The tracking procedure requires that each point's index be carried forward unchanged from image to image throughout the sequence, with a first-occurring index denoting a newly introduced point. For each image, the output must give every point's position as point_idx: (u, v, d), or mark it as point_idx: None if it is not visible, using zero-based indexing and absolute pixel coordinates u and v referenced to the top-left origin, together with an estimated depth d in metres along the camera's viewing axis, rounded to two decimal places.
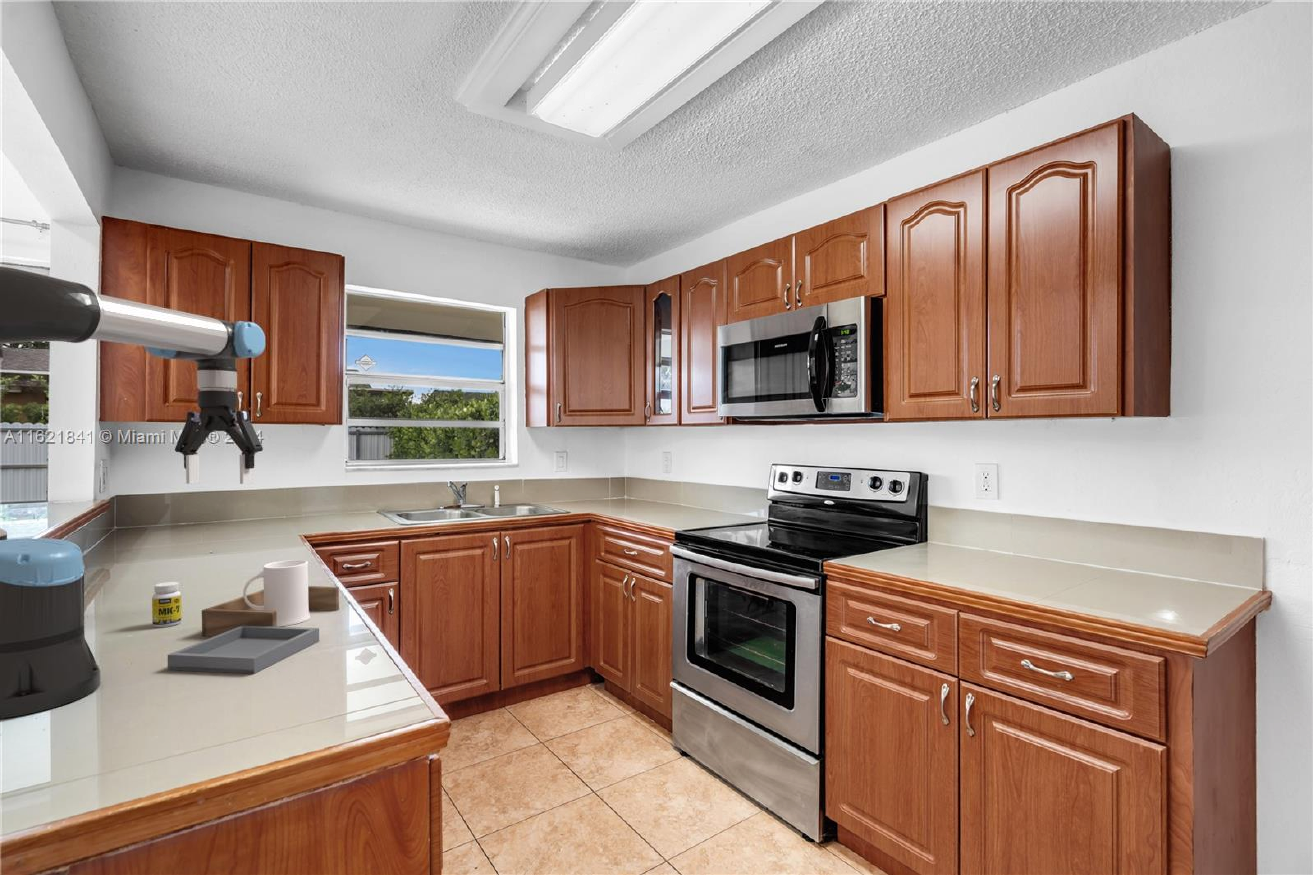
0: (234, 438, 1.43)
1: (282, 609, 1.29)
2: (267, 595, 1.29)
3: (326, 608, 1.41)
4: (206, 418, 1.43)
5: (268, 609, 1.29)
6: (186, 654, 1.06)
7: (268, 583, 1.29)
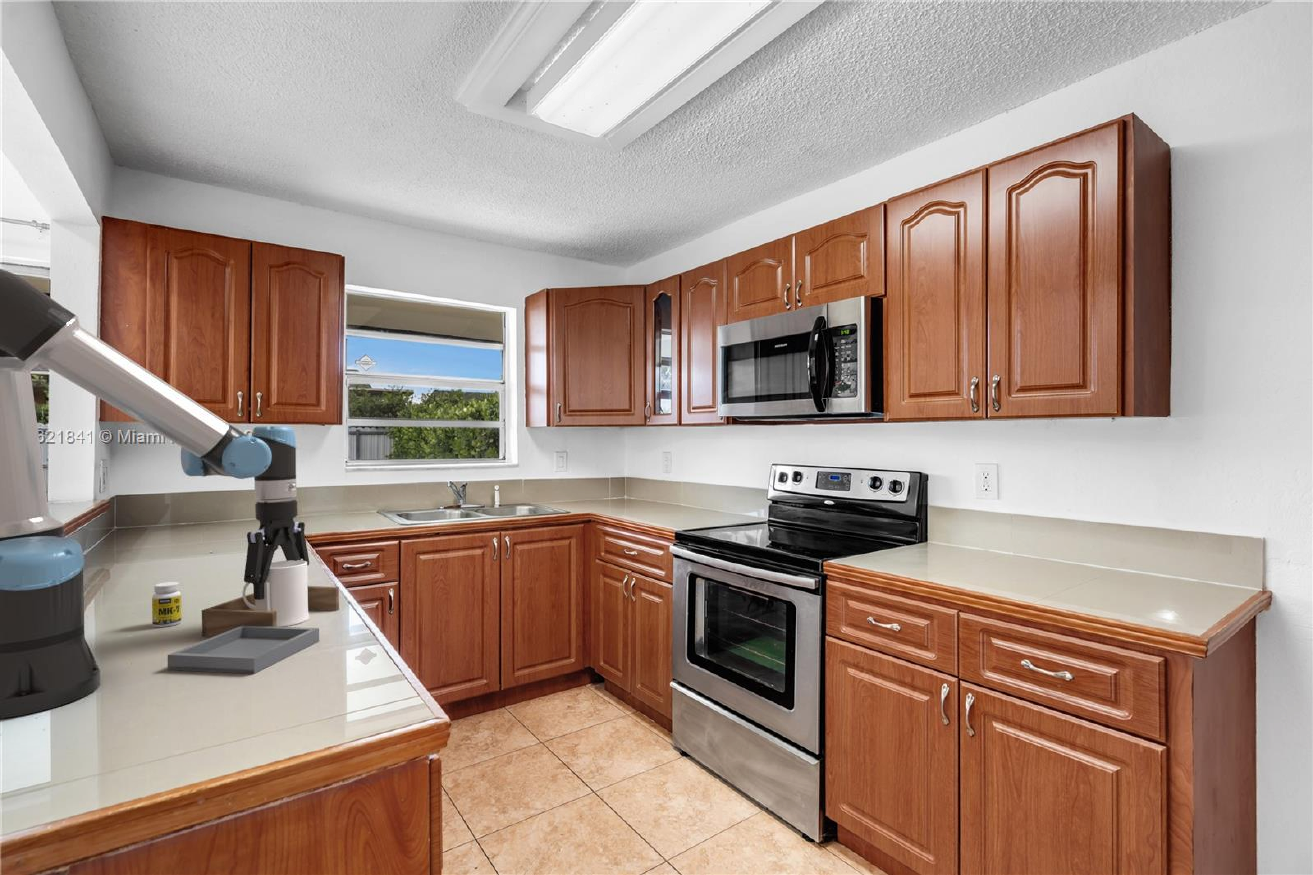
0: None
1: (282, 609, 1.29)
2: None
3: (326, 608, 1.41)
4: None
5: None
6: (186, 654, 1.06)
7: None
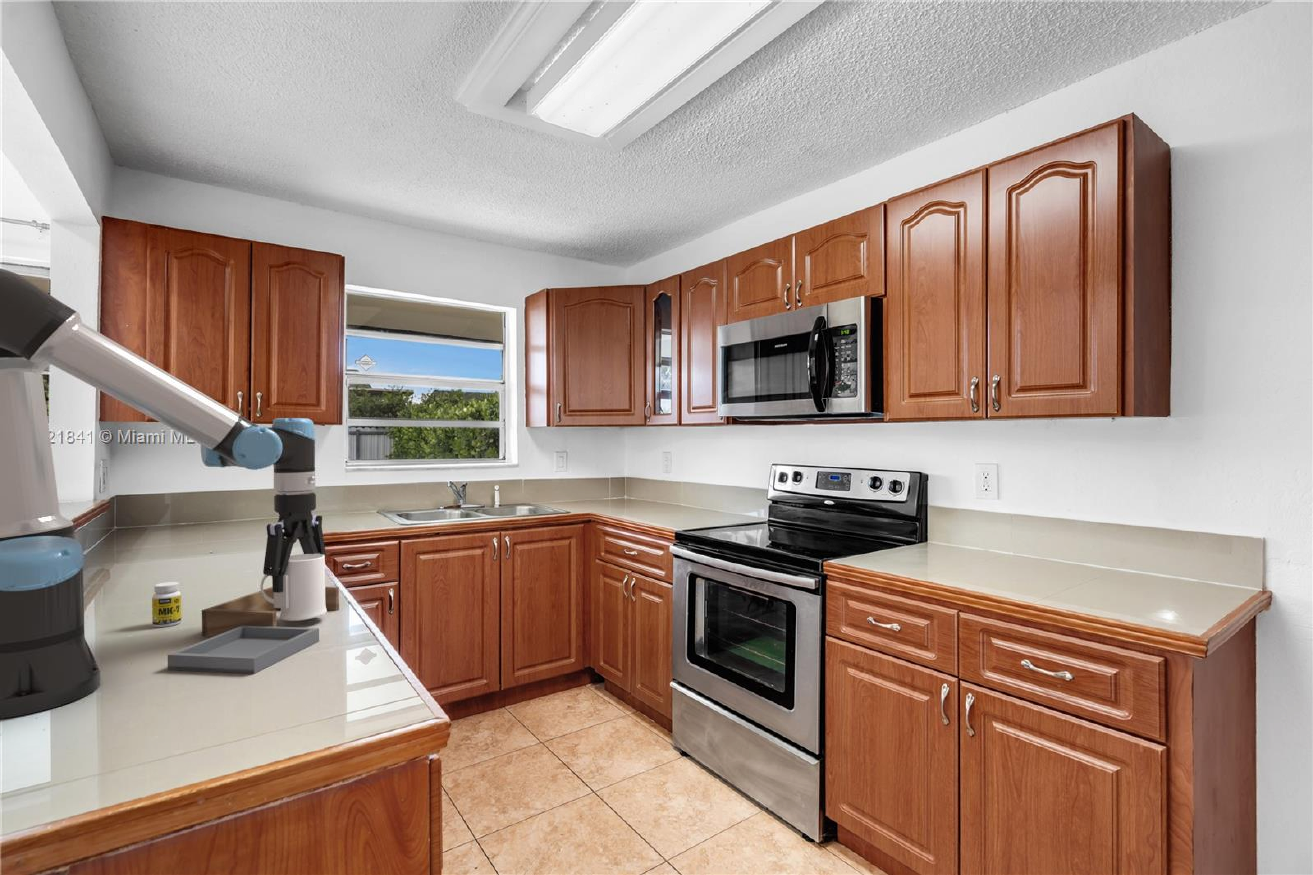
0: None
1: (300, 603, 1.28)
2: None
3: (326, 608, 1.41)
4: None
5: None
6: (186, 654, 1.06)
7: None
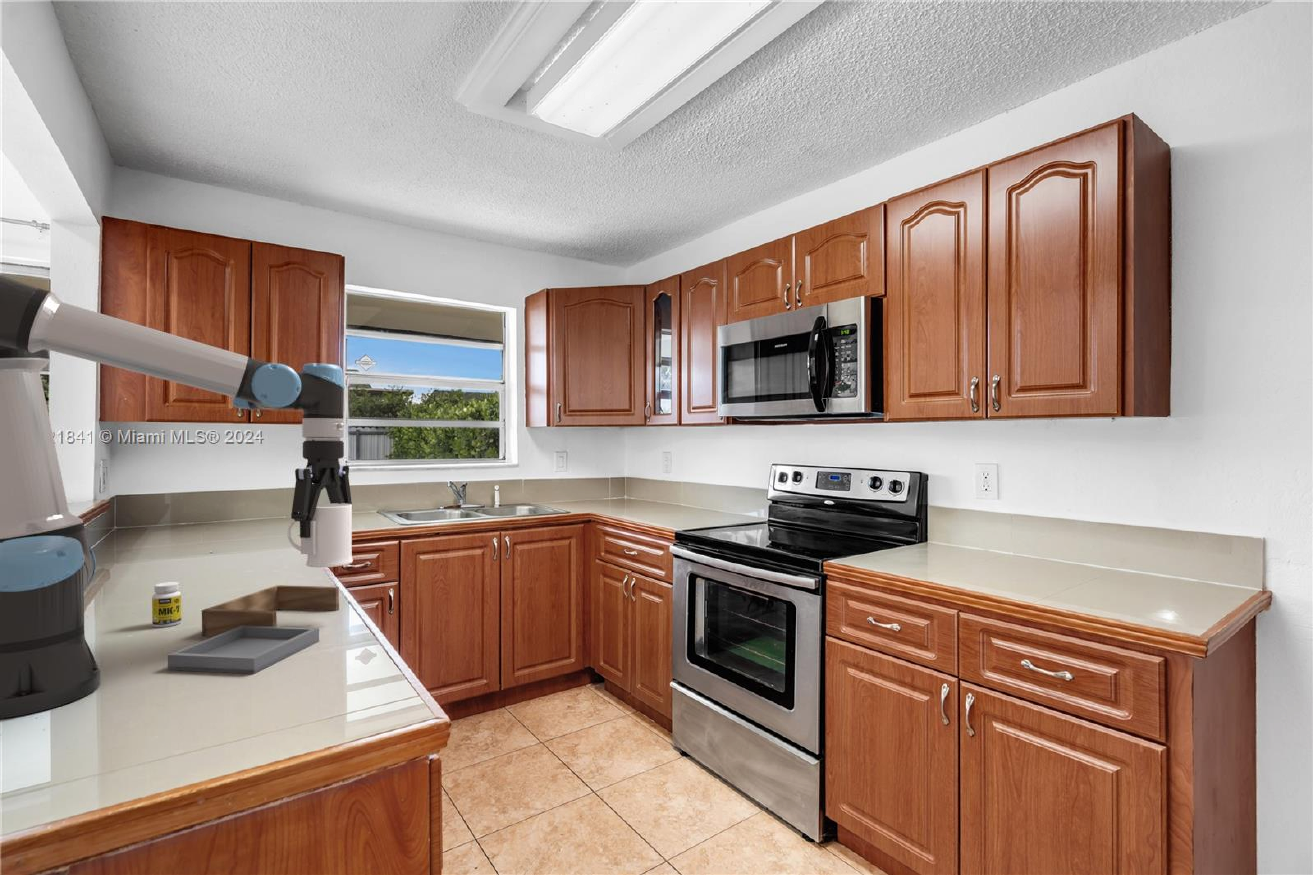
0: None
1: (327, 550, 1.27)
2: None
3: (326, 608, 1.41)
4: None
5: None
6: (186, 654, 1.06)
7: None
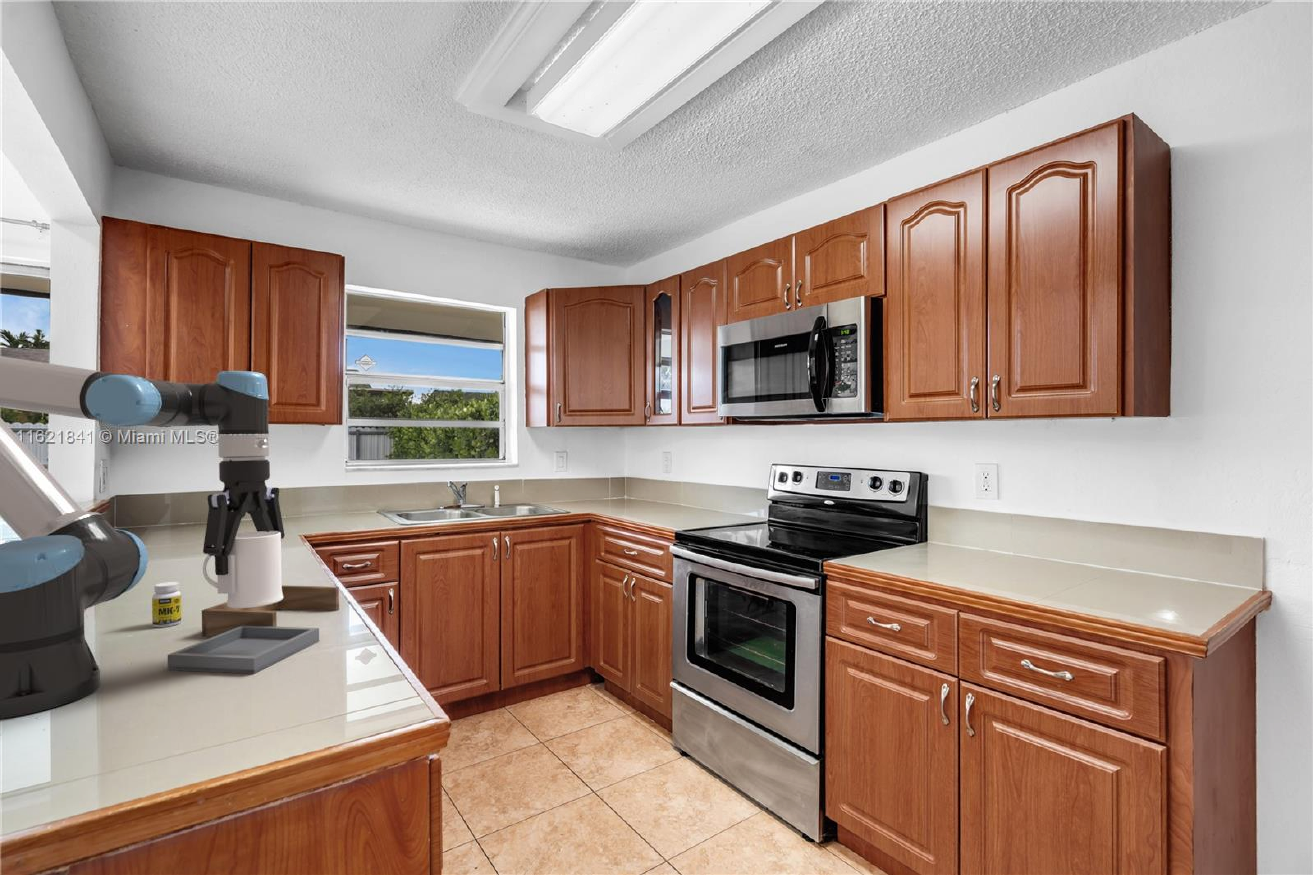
0: None
1: (249, 587, 1.09)
2: None
3: (326, 608, 1.41)
4: None
5: None
6: (186, 654, 1.06)
7: None
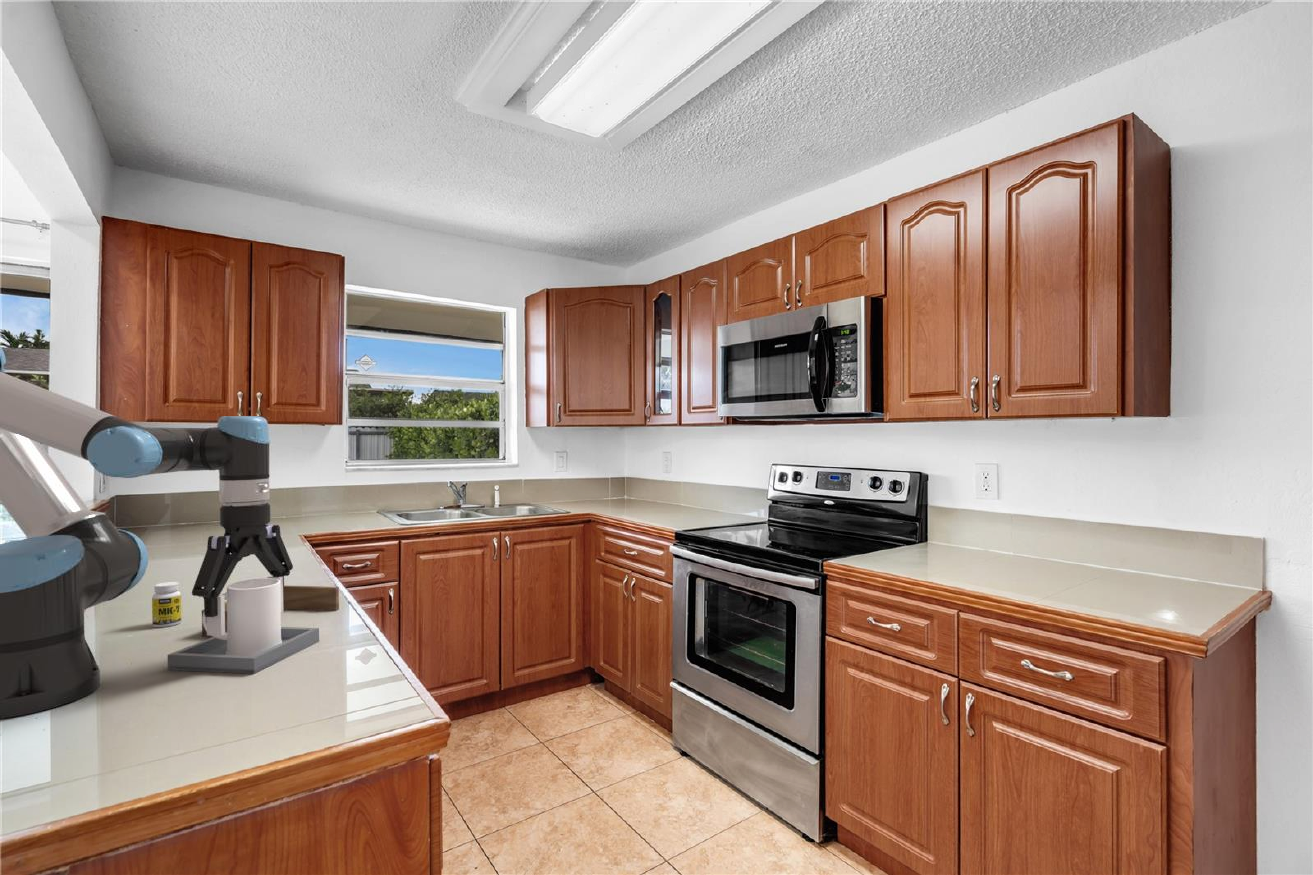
0: None
1: (248, 638, 1.09)
2: (230, 621, 1.09)
3: (326, 608, 1.41)
4: None
5: (231, 638, 1.09)
6: (186, 654, 1.06)
7: (231, 607, 1.09)
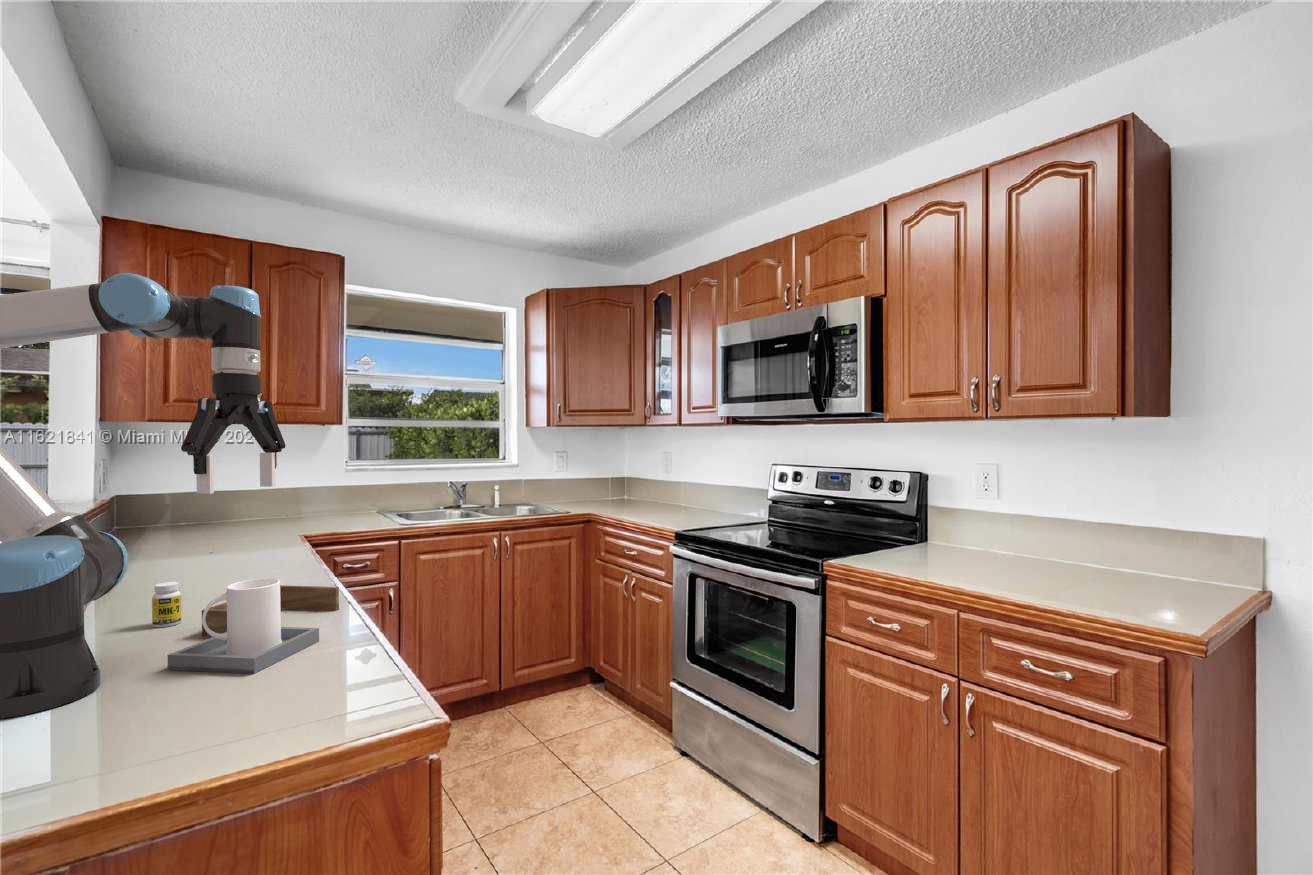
0: None
1: (248, 638, 1.09)
2: (230, 621, 1.09)
3: (326, 608, 1.41)
4: None
5: (231, 638, 1.09)
6: (186, 654, 1.06)
7: (231, 607, 1.09)
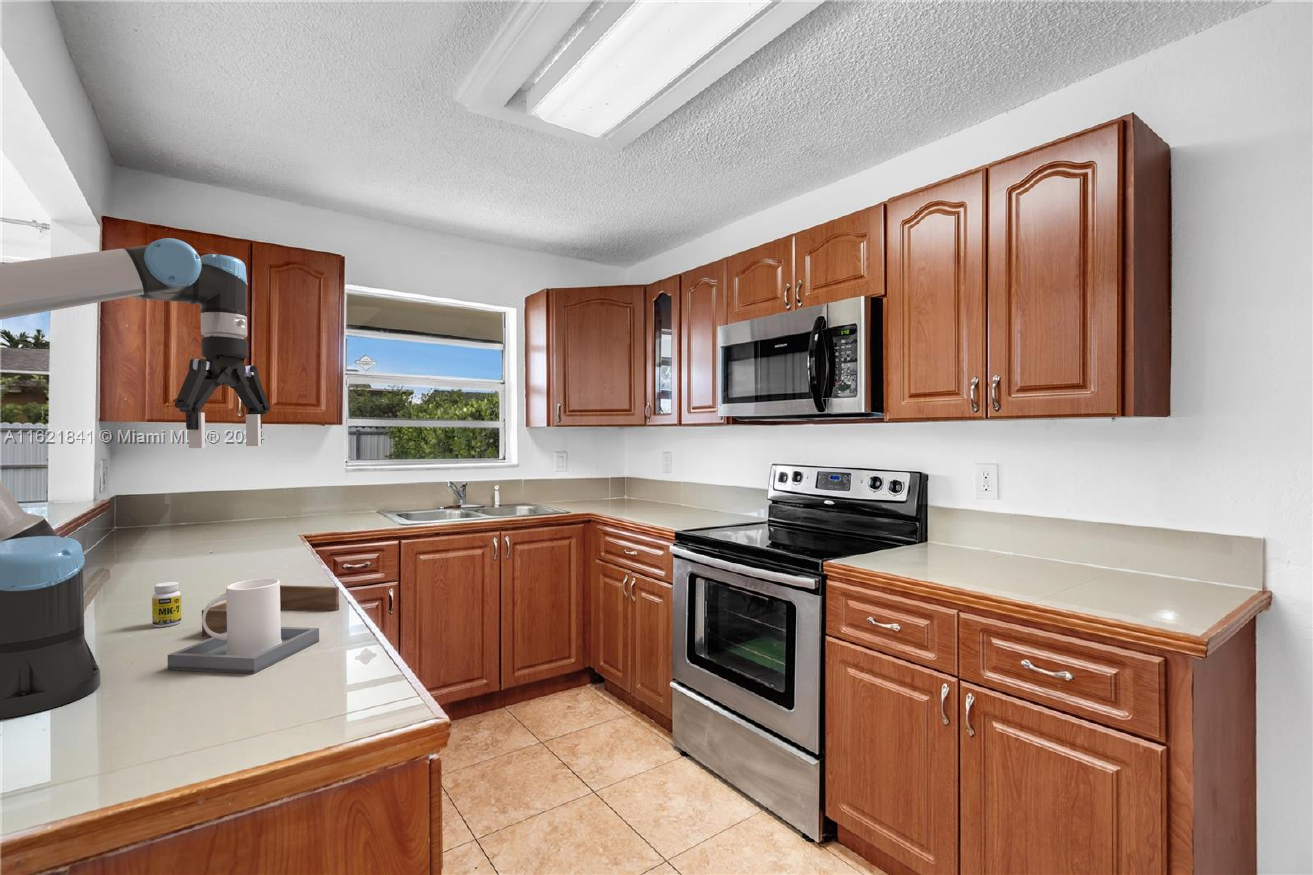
0: None
1: (248, 638, 1.09)
2: (230, 621, 1.09)
3: (326, 608, 1.41)
4: None
5: (231, 638, 1.09)
6: (186, 654, 1.06)
7: (230, 607, 1.09)
